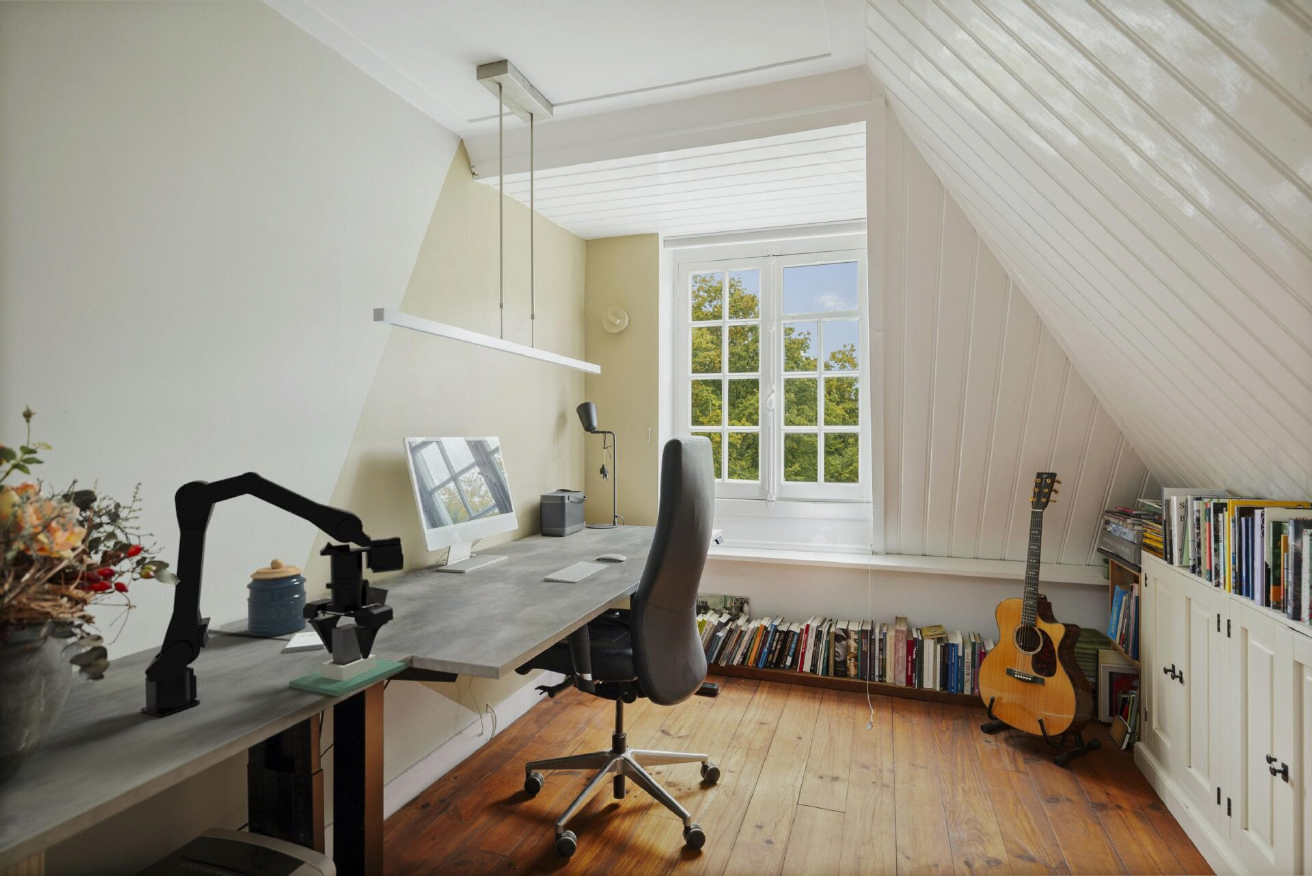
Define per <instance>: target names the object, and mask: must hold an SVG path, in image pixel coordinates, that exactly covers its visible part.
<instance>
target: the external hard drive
mask: <svg viewBox="0 0 1312 876" xmlns="http://www.w3.org/2000/svg"><path fill="white" fill-rule="evenodd" d="M324 649H325V650H326V647H325V646H324V644H323V642H322V640H321V639H320V637H319V635H318V634H317V632H316V631H315V630H314V631H307V632H298V633H297V632H296V633H295V634H294V635H293V636H292V637H291V639H290V640H289V641H288V642H287V644H286V645H285V647H284V648H283V653H284V654H286V653H295V652H296V653H297V652H305V651H306V652H307V651H314V650H324Z"/></svg>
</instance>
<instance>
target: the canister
mask: <svg viewBox="0 0 1312 876" xmlns="http://www.w3.org/2000/svg"><path fill="white" fill-rule="evenodd" d="M283 563H284V562H283V561H282V560H281V559H279V558H274V559H273V560H271V562H270V566H266V567H261V568H258V569H257V570H256V571H255V572H253V573H252V574H250V576H249V577H250V578H251V581H250V582H249V583H247V584H246V588H247V589H248V591H249V594H248V597H247V599H246V601H247V618H248V619H247V630H248V634H249V636H252V637H274V636H282V635H287V634H292V633H294V632H298V631H300V630H303V629H305V628H306V626H307V624H308V619H306V618H303V608H304V607H305V605H306V604H307V591H306V590H305V583H307V582H306V581H307V578H306V577H304V576H302V573H303V569H301V568H299V567H297V566H296V565H291V564H287V565H286V564H285V565H283Z"/></svg>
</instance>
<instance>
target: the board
mask: <svg viewBox="0 0 1312 876" xmlns="http://www.w3.org/2000/svg"><path fill="white" fill-rule="evenodd" d="M404 669H406V663H403V662H398V661H392V660H386V659H381V658H377V655H376V654H372V653H370V655H369V657H368V658H367V659H363V658H362V655H361V659H360V660H358V661H355V662H352V663H350V664H347V665H344V666H342V665H336V664H333V659H331V660H328V661H325V662H322V663H320V670H317V671H314V672H312V673H309V674H307V675H304V676H301V677H298V678H295V679H292V680H290V681H289V688H292V689H299V690H304V691H308V692H314V693H319V694H324V695H330V696H332V697H333V696H334V697H340V696H343V695H345V694H347V693H350V692H352V691H355V690H357V689H359V688H361V687H364V686H365V685H366V686H367V685H369V684H371V683H374V682H375V681H378V680H381V679H383V678H386V677H388V676H390V675H392V674H396V673H398V672H400V671H402V670H404Z"/></svg>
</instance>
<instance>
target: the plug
mask: <svg viewBox="0 0 1312 876" xmlns="http://www.w3.org/2000/svg"><path fill="white" fill-rule="evenodd" d="M355 626H358V625H357V624H356V622H354V623H345V624H343V625H340V626H337V627H336V628H333V629H332V648H333V653H332V660H333V664H336V665H342V666H344V665H347V664H350V663H352V662H355V661H358V660H360V659H361V653H360V649H359V645H358V641H357V637H356V633H355V629H354V627H355Z"/></svg>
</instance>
